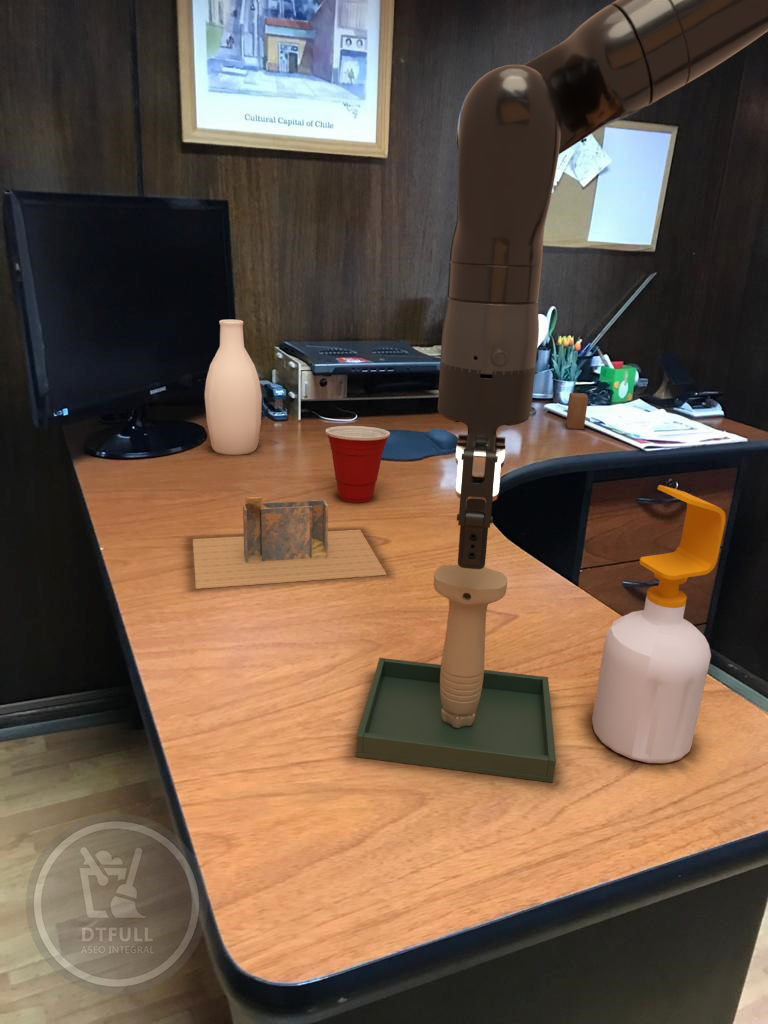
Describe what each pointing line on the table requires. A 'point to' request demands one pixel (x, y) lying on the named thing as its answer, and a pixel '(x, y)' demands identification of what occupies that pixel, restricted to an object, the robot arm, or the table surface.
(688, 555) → the soap bottle
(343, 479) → the plastic cup
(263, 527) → the ruin model on sheet
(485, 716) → the brush tray
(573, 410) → the wooden block
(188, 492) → the table surface
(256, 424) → the bottle
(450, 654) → the handle
